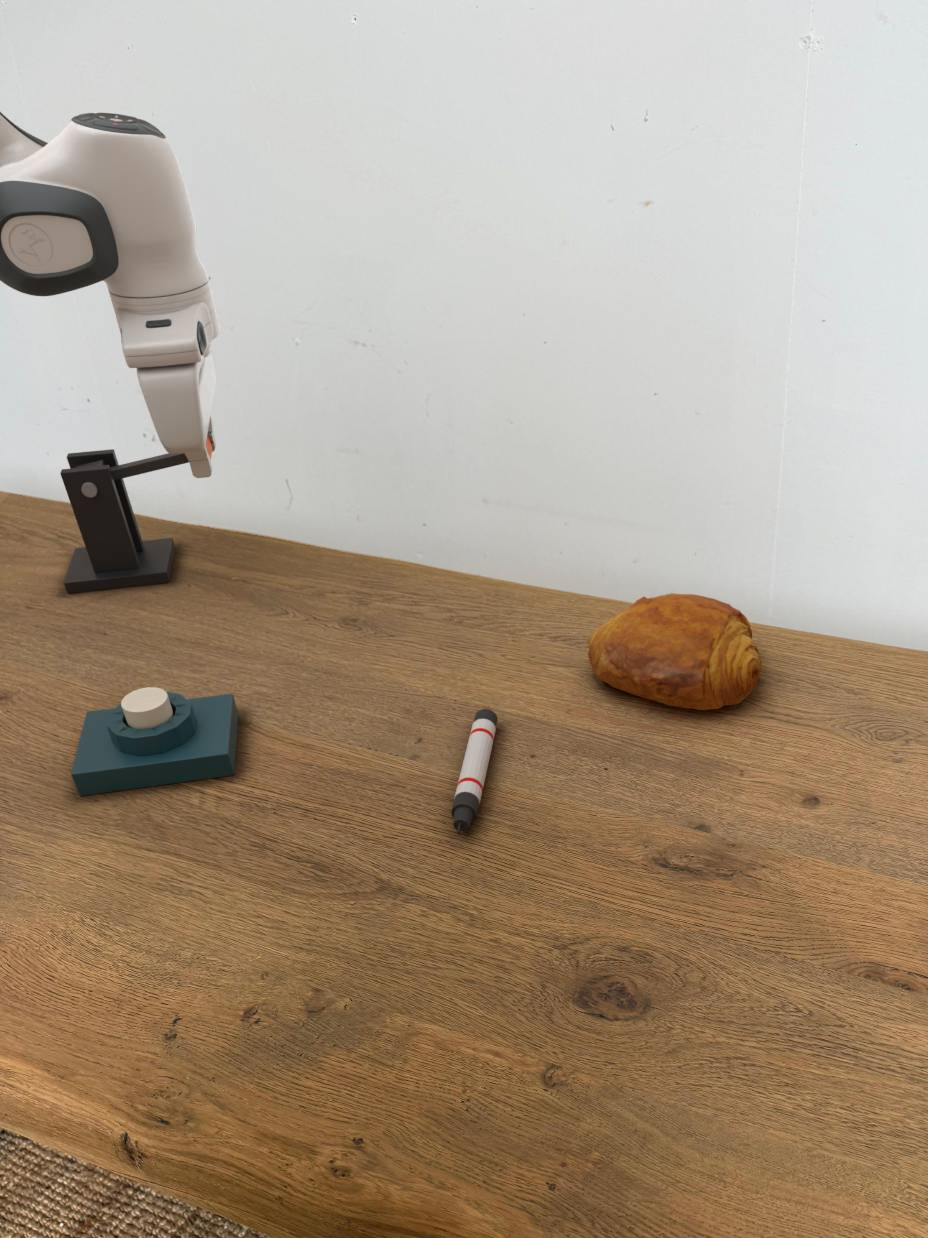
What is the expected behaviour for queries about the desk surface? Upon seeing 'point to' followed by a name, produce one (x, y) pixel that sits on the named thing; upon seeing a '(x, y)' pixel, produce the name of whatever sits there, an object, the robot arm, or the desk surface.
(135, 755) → the block
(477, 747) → the marker
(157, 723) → the power button
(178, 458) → the lever switch
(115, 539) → the pivot lever stand
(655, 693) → the croissant
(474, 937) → the desk surface
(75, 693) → the desk surface
